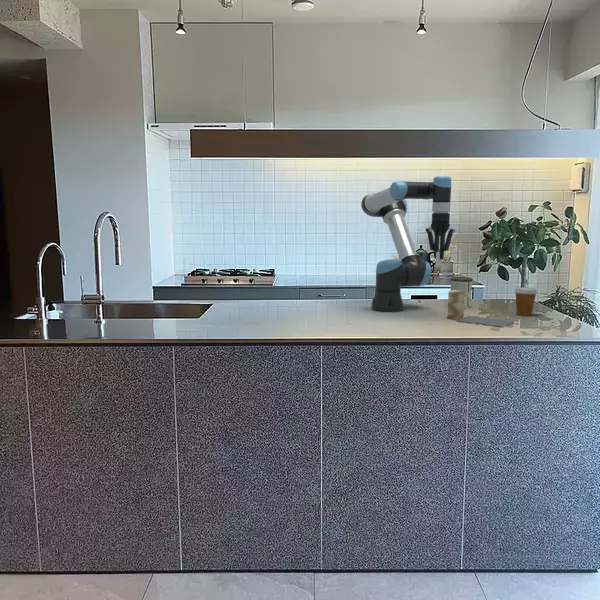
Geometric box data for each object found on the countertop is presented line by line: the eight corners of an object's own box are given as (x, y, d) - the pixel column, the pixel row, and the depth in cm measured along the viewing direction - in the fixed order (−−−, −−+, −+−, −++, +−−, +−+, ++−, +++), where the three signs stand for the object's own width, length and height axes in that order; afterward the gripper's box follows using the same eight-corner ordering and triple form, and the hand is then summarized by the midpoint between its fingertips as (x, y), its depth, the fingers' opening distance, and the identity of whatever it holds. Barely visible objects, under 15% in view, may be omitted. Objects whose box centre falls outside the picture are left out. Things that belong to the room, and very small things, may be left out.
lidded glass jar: (447, 304, 282) (449, 276, 280) (468, 305, 281) (470, 277, 279) (451, 308, 272) (452, 279, 270) (473, 308, 271) (474, 279, 269)
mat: (455, 321, 239) (455, 320, 239) (467, 316, 250) (467, 315, 250) (503, 327, 227) (503, 326, 227) (513, 322, 238) (514, 321, 238)
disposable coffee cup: (535, 313, 259) (537, 287, 257) (534, 317, 250) (536, 290, 248) (513, 311, 263) (515, 286, 261) (512, 315, 254) (514, 289, 252)
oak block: (447, 318, 245) (448, 291, 243) (452, 316, 250) (453, 289, 248) (458, 319, 242) (459, 292, 240) (463, 317, 247) (464, 290, 245)
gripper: (423, 212, 245) (421, 266, 249) (451, 212, 237) (449, 268, 241) (430, 212, 251) (428, 265, 255) (458, 212, 243) (455, 267, 247)
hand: (438, 266), depth 248 cm, fingers closed
